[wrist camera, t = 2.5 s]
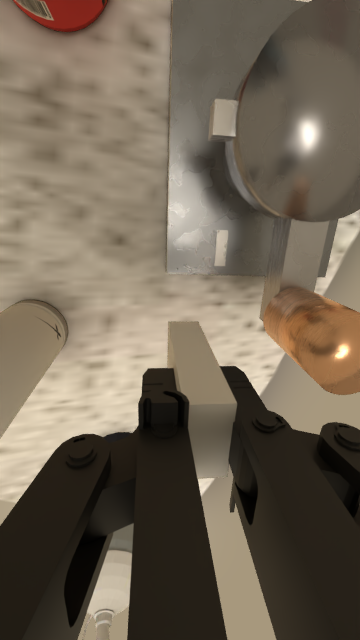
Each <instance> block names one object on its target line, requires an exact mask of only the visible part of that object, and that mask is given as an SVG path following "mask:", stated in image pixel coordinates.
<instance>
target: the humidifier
mask: <svg viewBox="0 0 360 640" xmlns="http://www.w3.org/2000/svg"><path fill="white" fill-rule="evenodd" d="M130 434H132V433H128V432H124V433H114V434H110V435H107V436H105V437H104V439H105V440H106V441H107V442H108V443H111V442H115V441H118V440H120V439H123V438H125V437H127V436H129V435H130ZM133 526H134V523H133V524H131V525H128V526H126V527H124V528H122V529H119V530H117V531H115V532H114V533H113V537H112V540H111V543H110V546H109V549H108V551H107V554H106V557H105V560H104V563H103V566H102V569H101V572H100V575H99V578H98V581H97V584H96V587H95V589H94V592H93V595H92V598H91V601H90V604H89V607H88V610H87V613H88V614H90V618H89V619H88V621H87V624H86V627H85V630H84V635H83V639H82V640H84V636H85V632H86V628H87V625H88V623H89V621H90V619H91V617H92V616H93V617H94V619H95V620H96V622H95V627H96V628H97V630H96V634H97V640H109V627H110V626H111V623H112V619H113V618H114V616H115V615H116V614H118V613H119V612H122V611H123V610H124V609H125V608H127V607H128V606H129V600H130V581H131V563H132V545H133Z"/></svg>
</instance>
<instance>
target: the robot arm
mask: <svg viewBox="0 0 360 640" xmlns="http://www.w3.org/2000/svg"><path fill="white" fill-rule="evenodd" d="M138 412H139V426H138V427H137V429H136V430H135V431H134V432H133V433H132V434H130V435H129V436H127V437H125V438H123V439H120V440H118V441H115V442H111V443H108V442H107V441H106V440H105V439H104V438H103V437H101V436H98V435H95V434H82V435H79V436H75V437H72V438H70V439H69V440H67V441H65V442H63V443H62V444H61V445H60V446H59V447H58V448H57V449H56V450H55V451H54V453H53V454H52V456H51V457H50V458H49V460H48V461H47V462H46V464H45V465H44V467H43V468H42V469H41V471H40V472H39V473H38V475H37V476H36V478H35V479H34V480H33V482H32V483H31V484H30V486H29V487H28V488H27V490H26V491H25V493H24V494H23V495H22V497H21V498H20V499H19V501H18V502H17V504H16V505H15V506H14V508H13V509H12V510H11V512H10V513H9V515H8V516H7V518H6V519H5V520H4V522H3V523H2V524H1V526H0V640H77V639H78V636H79V633H80V630H81V627H82V625H83V621H84V619H85V616H86V613H87V610H88V607H89V604H90V601H91V598H92V595H93V592H94V589H95V587H96V584H97V581H98V578H99V575H100V572H101V569H102V566H103V563H104V560H105V557H106V554H107V551H108V549H109V546H110V543H111V540H112V537H113V533H114V532H115V531H117V530H119V529H122V528H124V527H126V526H128V525H131V524H133V523H134V526H133V545H132V563H131V581H130V600H129V619H128V637H127V640H227V636H226V630H225V625H224V619H223V614H222V609H221V603H220V598H219V592H218V587H217V582H216V577H215V571H214V565H213V560H212V555H211V549H210V544H209V538H208V533H207V528H206V523H205V517H204V511H203V506H202V501H201V495H200V490H199V484H198V479H201V478H217V477H227V476H228V469H229V464H230V467H231V470H232V473H233V476H234V478H233V484H232V491H231V498H230V512H234V508H235V503H236V506H237V509H238V513H239V516H240V519H241V523H242V526H243V529H244V533H245V536H246V539H247V542H248V546H249V549H250V552H251V556H252V559H253V563H254V566H255V569H256V573H257V576H258V579H259V583H260V586H261V589H262V593H263V596H264V599H265V603H266V606H267V609H268V613H269V616H270V619H271V623H272V626H273V629H274V632H275V636H276V639H277V640H360V430H359V429H357V428H355V427H352V426H349V425H347V424H343V423H337V422H333V423H327V424H325V425H324V426H323V427H322V429H321V432H320V435H317V434H312V433H307V432H302V431H298V430H293V429H292V428H291V427H290V425H289V424H288V423H287V421H286V420H285V419H284V418H283V417H281V416H280V415H278V414H276V413H275V412H271V411H268V410H267V409H266V407H265V405H264V404H263V402H262V400H261V399H260V397H259V396H258V394H257V392H256V391H255V389H253V386H252V384H251V383H250V382H249V380H248V378H247V376H246V375H245V373H244V372H243V371H241V370H240V369H238V368H237V367H236V366H219V364H218V362H217V360H216V358H215V356H214V354H213V352H212V350H211V348H210V345H209V343H208V341H207V339H206V337H205V335H204V333H203V331H202V329H201V327H200V325H199V322H168V360H167V368H150V369H148V370H147V371H146V372H145V373H144V375H143V381H142V397H141V398H140V401H139V403H138Z"/></svg>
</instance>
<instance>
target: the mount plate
mask: <svg viewBox="0 0 360 640" xmlns="http://www.w3.org/2000/svg"><path fill="white" fill-rule="evenodd" d="M306 3H308V2H301V1H294V0H172V7H171V53H170V99H169V145H168V191H167V237H166V274H191V275H240V276H266V271H267V265H268V258H269V251H270V245H271V238H272V232H273V225H274V219H272V218H270V217H267V216H265V215H263V214H261V213H260V212H258V211H257V210H255V209H254V208H253V207H252V206H251V205H250V204H248V202H247V201H246V200H245V199H244V198H243V197H242V195H241V194H240V192H239V190H238V189H237V187H236V185H235V183H234V181H233V179H232V176H231V173H230V170H229V167H228V162H227V157H226V146H225V142H218V141H208V137H209V122H210V107H211V105H212V104H213V102H214V100H215V99H225V100H233V97H234V95H235V92H236V90H237V88H238V86H239V84H240V82H241V80H242V79H243V77H244V76H245V74H246V73H247V71H248V70H249V68H250V67H251V65H252V64H253V62H254V60H255V59H256V57H257V56H258V54H259V53H260V51H261V50H262V48H263V47H264V45H265V44H266V42H267V41H268V39H269V38H270V36H271V35H272V34H273V33H274V31H275V30H276V29H277V28H278V27H279V25H280V24H281V23H282V22H283V21H284V20H286V19H287V18H288V17H289V16H290V15H291V14H292V13H293V12H295V11H296V10H297V9H299V8H300V7H302V6H303V5H304V4H306ZM337 223H338V219H336V220H331V221H329V225H328V230H327V234H326V239H325V244H324V248H323V253H322V257H321V262H320V266H319V271H318V276H317V277H325V275H326V271H327V266H328V262H329V258H330V253H331V249H332V245H333V240H334V236H335V231H336V227H337Z"/></svg>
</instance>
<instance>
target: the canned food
mask: <svg viewBox="0 0 360 640" xmlns="http://www.w3.org/2000/svg"><path fill="white" fill-rule="evenodd" d="M13 1H14V2H15V4H16V5H17V6H18V7H19V8H20V9H21V10H22V11H24V12H25V13H26V14H27V15H28V16H29V17H31V18H32V19H33V20H35V21H36V22H38V23H40V24H41V25H43V26H45V27H47V28H50V29H53V30H55V31H62V32H71V31H77V30H80V29H83V28H85V27H87V26H88V25H90V24H91V23H93V22H94V21H95V20H96V19H97V17H98V16H99V15H100V14H101V12H102V11H103V9H104V7H105V5H106V3H107V0H13Z"/></svg>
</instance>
